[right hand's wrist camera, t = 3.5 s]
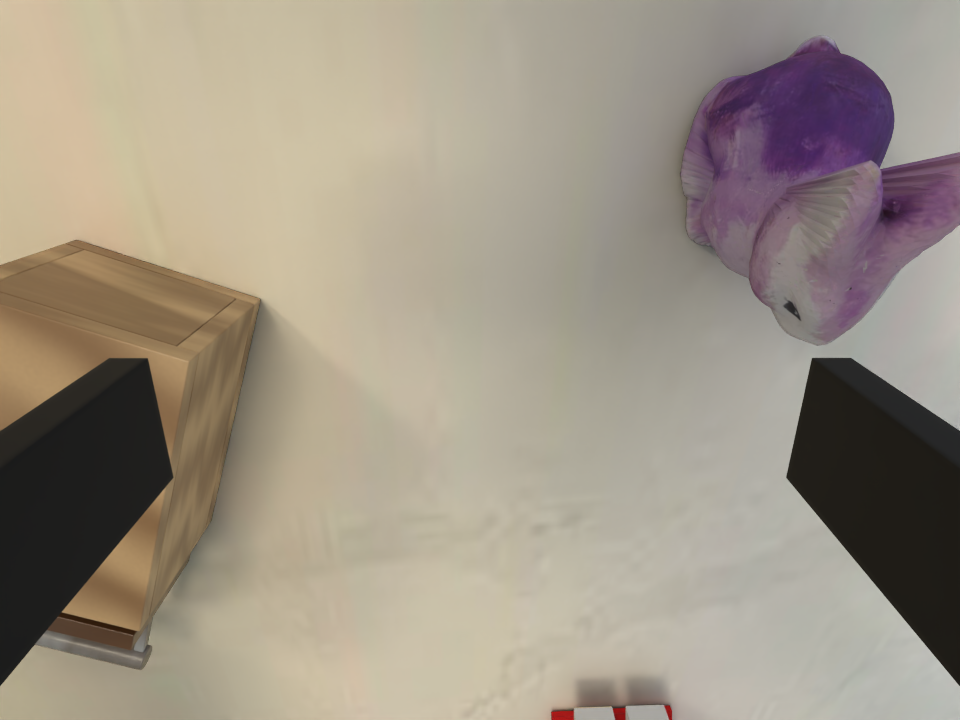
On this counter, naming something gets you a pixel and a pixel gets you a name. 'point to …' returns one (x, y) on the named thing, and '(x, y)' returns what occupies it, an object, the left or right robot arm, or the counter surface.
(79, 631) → the drawer
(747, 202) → the figurine
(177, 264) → the counter surface
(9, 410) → the cabinet
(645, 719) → the toy
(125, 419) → the right robot arm
